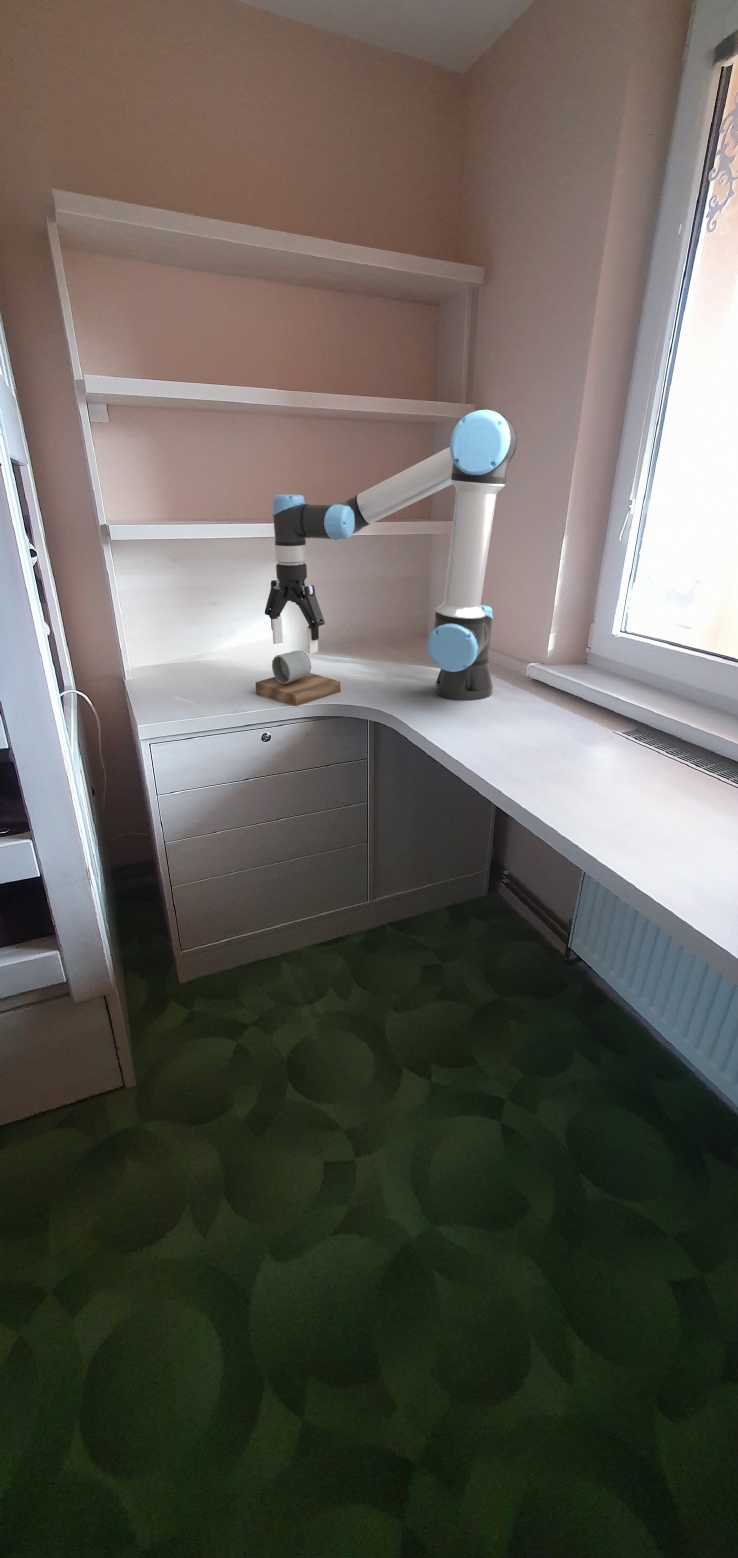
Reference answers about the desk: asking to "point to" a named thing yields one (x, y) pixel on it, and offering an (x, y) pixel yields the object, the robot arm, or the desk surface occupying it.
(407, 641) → the desk surface
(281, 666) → the ceramic mug
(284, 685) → the walnut block
